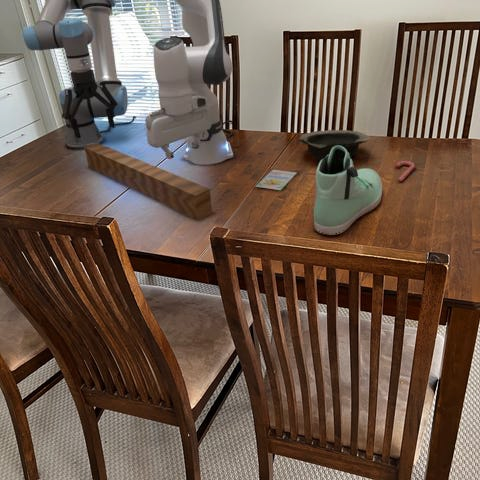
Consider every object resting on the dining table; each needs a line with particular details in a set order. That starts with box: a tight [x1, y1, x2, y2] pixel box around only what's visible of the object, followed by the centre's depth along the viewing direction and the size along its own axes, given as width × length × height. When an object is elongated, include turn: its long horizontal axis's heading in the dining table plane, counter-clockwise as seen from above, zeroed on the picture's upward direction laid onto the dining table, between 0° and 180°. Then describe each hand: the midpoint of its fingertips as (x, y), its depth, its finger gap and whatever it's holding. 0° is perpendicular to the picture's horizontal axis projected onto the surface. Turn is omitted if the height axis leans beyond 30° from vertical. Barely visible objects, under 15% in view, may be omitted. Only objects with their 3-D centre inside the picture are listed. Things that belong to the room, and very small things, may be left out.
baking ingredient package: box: [255, 169, 297, 191], centre depth 159 cm, size 9×1×15 cm
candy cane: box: [395, 160, 416, 183], centre depth 157 cm, size 6×15×2 cm, turn 145°
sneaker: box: [313, 146, 383, 236], centre depth 133 cm, size 14×35×20 cm, turn 152°
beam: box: [83, 143, 213, 221], centre depth 159 cm, size 65×6×8 cm, turn 44°
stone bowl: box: [297, 129, 371, 164], centre depth 171 cm, size 25×25×9 cm
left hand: (95, 132), depth 170 cm, fingers open, 13 cm apart
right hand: (183, 153), depth 136 cm, fingers open, 8 cm apart
